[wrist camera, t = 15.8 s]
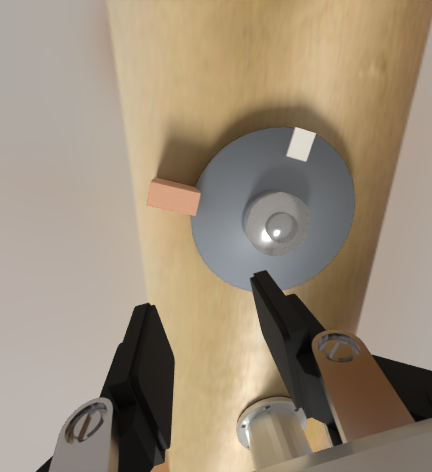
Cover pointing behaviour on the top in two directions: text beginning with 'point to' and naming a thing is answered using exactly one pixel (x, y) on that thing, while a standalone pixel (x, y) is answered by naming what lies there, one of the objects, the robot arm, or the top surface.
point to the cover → (276, 222)
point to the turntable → (253, 182)
